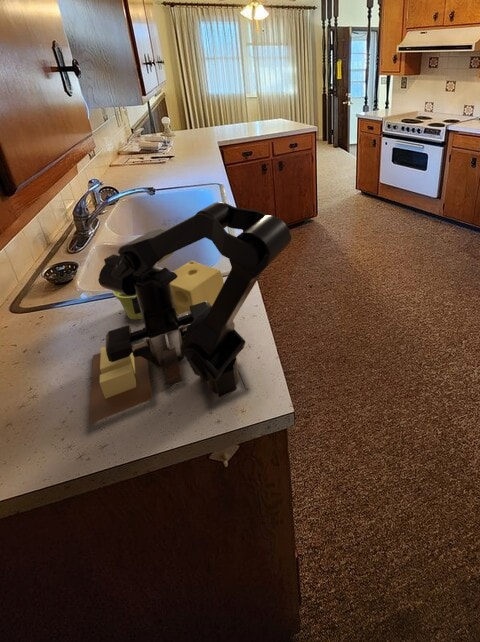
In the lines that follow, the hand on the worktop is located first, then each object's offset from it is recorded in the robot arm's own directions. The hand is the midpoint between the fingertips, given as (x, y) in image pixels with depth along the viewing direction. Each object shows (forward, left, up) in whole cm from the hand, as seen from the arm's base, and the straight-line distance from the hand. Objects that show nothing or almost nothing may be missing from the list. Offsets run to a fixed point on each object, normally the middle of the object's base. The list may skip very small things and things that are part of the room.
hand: (171, 361), depth 71 cm
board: (+1, +9, -1) cm, 9 cm away
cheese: (+16, -8, -1) cm, 18 cm away
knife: (+3, 0, -1) cm, 3 cm away
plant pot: (+20, +4, -1) cm, 20 cm away
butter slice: (-2, +9, 0) cm, 9 cm away
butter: (+3, +9, 0) cm, 9 cm away
